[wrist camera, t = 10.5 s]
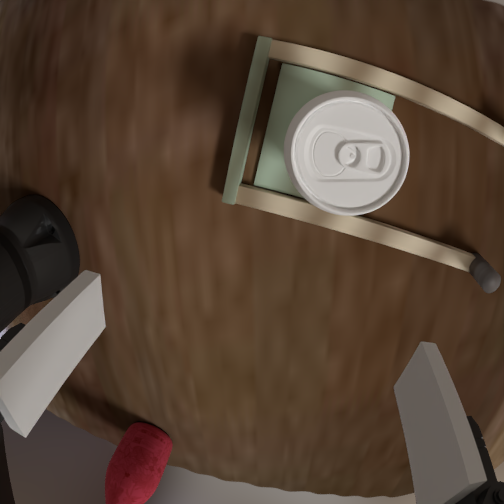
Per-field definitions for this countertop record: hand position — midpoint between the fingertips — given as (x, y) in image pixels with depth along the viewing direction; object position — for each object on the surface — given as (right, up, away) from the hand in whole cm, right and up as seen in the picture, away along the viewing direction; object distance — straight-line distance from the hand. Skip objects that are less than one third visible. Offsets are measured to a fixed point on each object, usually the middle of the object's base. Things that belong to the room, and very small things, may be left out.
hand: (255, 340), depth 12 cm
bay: (+13, +12, +16) cm, 24 cm away
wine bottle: (-20, -33, +43) cm, 57 cm away
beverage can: (+8, +14, +16) cm, 23 cm away
